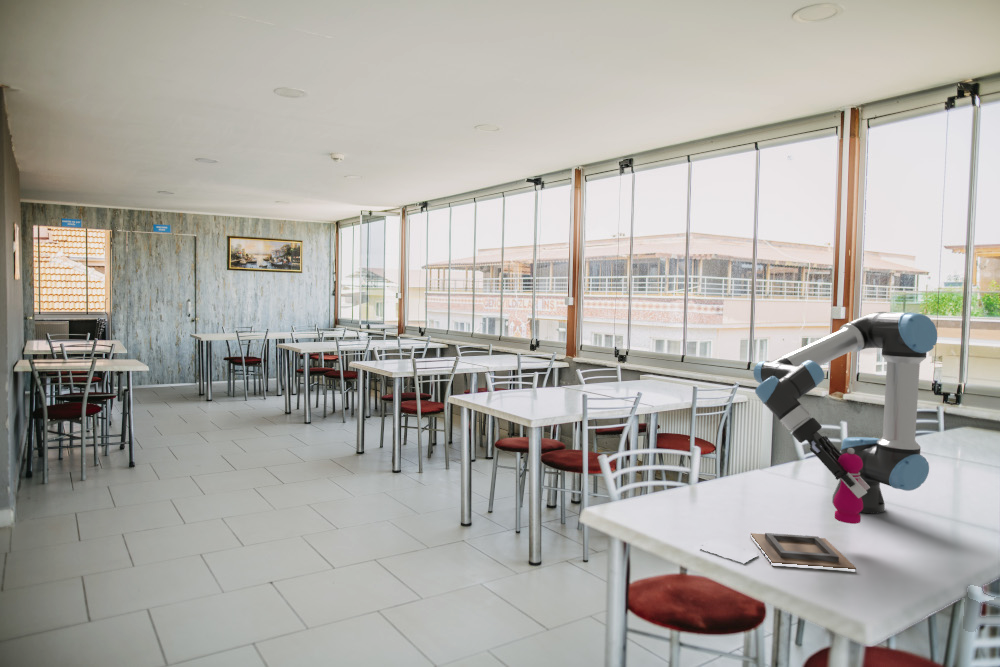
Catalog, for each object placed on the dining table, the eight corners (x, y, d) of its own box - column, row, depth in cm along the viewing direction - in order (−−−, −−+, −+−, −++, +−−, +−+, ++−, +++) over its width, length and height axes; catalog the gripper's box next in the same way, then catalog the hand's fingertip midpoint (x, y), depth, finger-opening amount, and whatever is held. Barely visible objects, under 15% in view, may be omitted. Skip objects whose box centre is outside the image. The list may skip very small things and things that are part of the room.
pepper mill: (828, 519, 176) (832, 447, 175) (837, 513, 182) (841, 443, 180) (857, 526, 171) (861, 452, 170) (865, 520, 176) (869, 448, 175)
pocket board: (824, 542, 179) (825, 533, 179) (855, 572, 160) (856, 562, 159) (750, 537, 182) (751, 528, 182) (772, 566, 162) (772, 556, 162)
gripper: (798, 427, 192) (857, 492, 183) (783, 437, 177) (847, 508, 168) (818, 412, 188) (880, 477, 179) (805, 421, 174) (871, 493, 165)
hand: (864, 492), depth 174 cm, fingers closed on pepper mill, 5 cm apart
